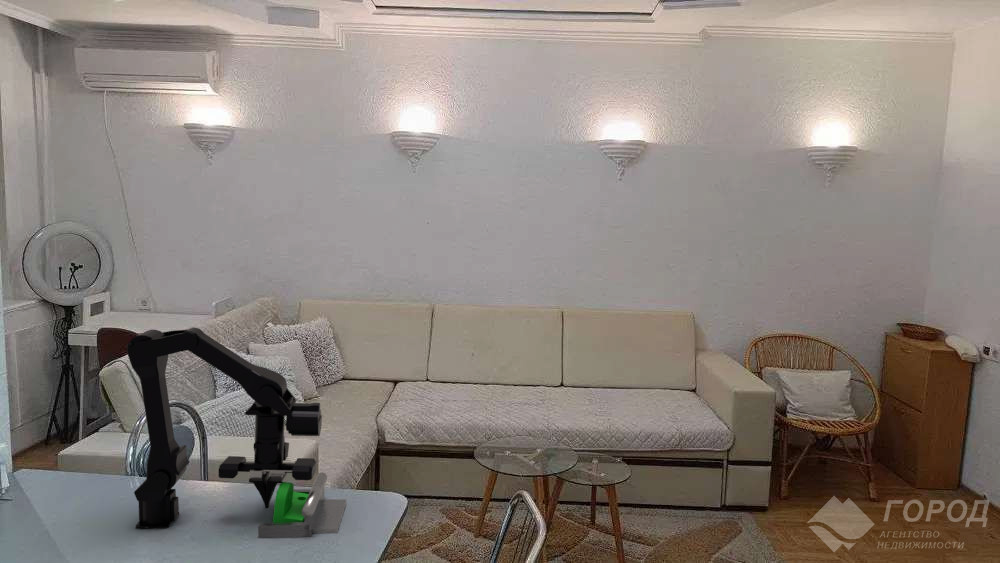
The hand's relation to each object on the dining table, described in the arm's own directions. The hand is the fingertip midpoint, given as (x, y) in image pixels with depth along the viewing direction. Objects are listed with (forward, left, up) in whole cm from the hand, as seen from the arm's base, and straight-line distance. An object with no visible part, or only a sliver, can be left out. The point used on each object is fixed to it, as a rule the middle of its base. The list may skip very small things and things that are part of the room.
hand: (267, 507), depth 146 cm
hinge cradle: (+8, +1, -3) cm, 8 cm away
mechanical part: (+5, +2, -3) cm, 6 cm away
